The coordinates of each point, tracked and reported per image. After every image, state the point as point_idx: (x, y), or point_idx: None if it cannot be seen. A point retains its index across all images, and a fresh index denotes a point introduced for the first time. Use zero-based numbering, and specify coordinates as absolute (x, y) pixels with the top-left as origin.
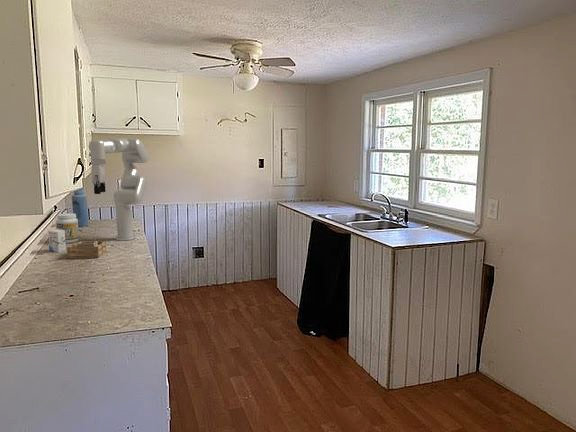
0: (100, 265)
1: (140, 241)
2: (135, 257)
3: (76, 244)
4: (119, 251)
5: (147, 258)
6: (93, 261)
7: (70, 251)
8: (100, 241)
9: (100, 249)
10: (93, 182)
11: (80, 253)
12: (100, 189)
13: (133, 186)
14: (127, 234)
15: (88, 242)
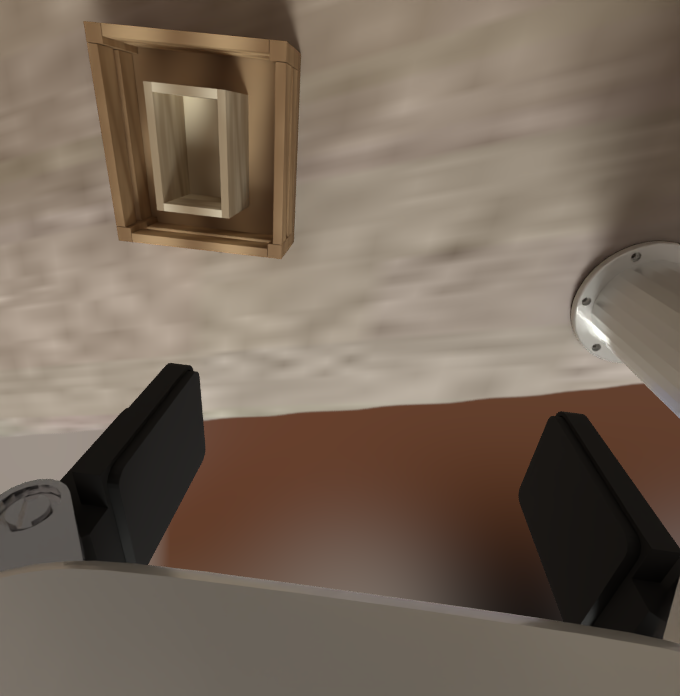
0: (20, 260)
1: (513, 384)
2: None
3: (146, 81)
4: (289, 307)
5: None
6: (84, 213)
7: (120, 48)
8: (273, 227)
9: (199, 234)
10: (152, 588)
11: (123, 125)
12: (565, 469)
13: None
14: (603, 335)
15: (222, 156)
